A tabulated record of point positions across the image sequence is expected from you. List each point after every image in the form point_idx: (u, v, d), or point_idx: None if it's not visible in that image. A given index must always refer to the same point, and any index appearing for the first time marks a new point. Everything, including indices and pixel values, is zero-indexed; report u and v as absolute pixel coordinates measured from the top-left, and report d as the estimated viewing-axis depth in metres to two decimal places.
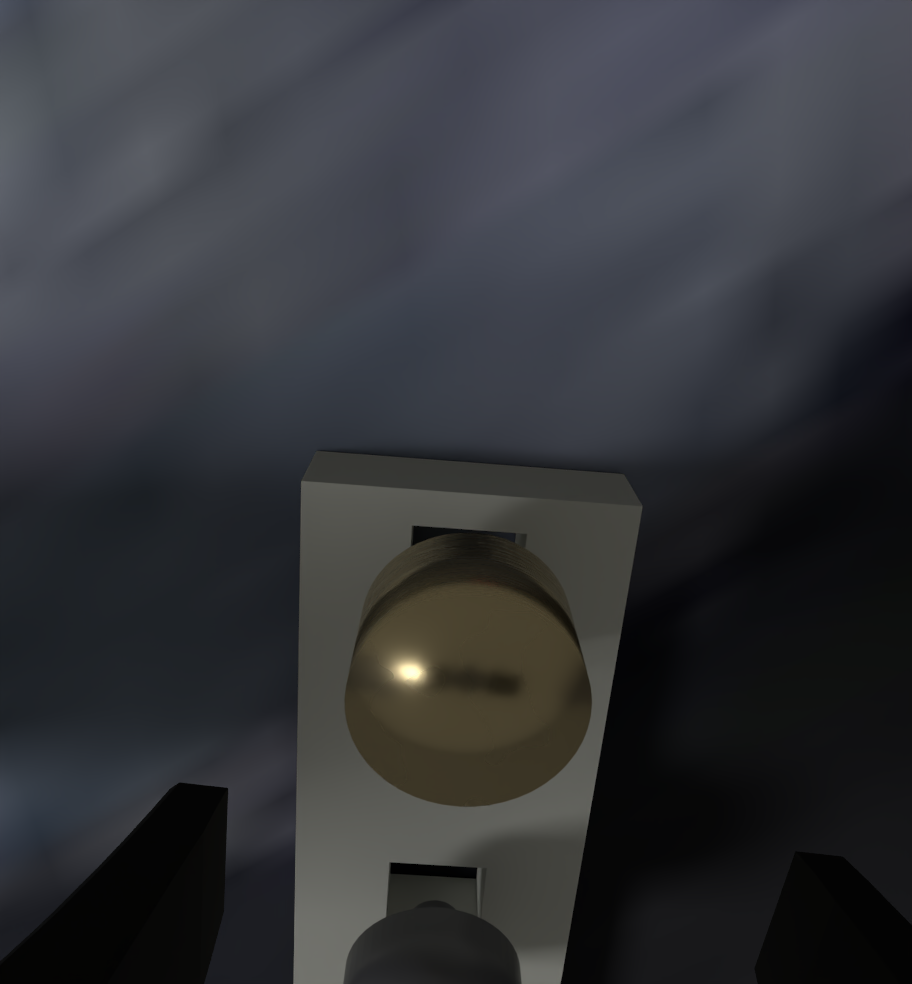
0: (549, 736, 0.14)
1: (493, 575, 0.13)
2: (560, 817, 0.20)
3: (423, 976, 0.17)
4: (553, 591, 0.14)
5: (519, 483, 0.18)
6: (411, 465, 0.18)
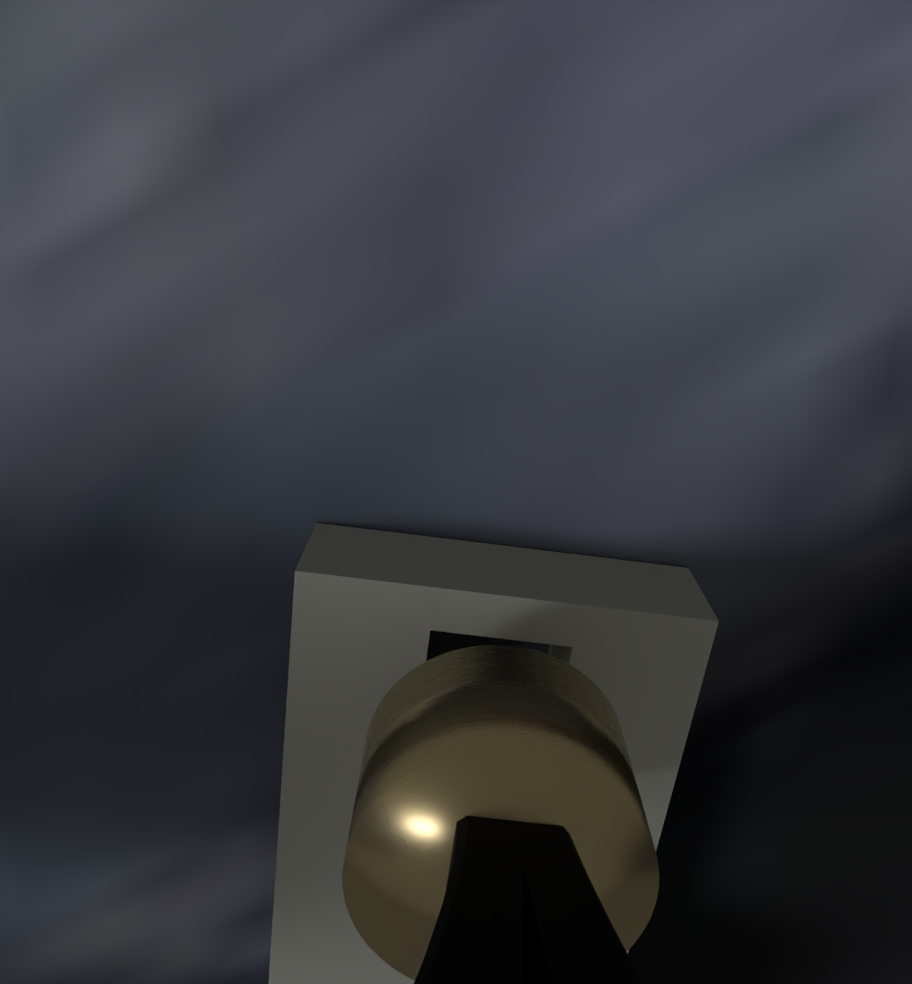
0: None
1: (540, 717, 0.11)
2: None
3: None
4: (610, 731, 0.11)
5: (564, 580, 0.14)
6: (430, 548, 0.15)
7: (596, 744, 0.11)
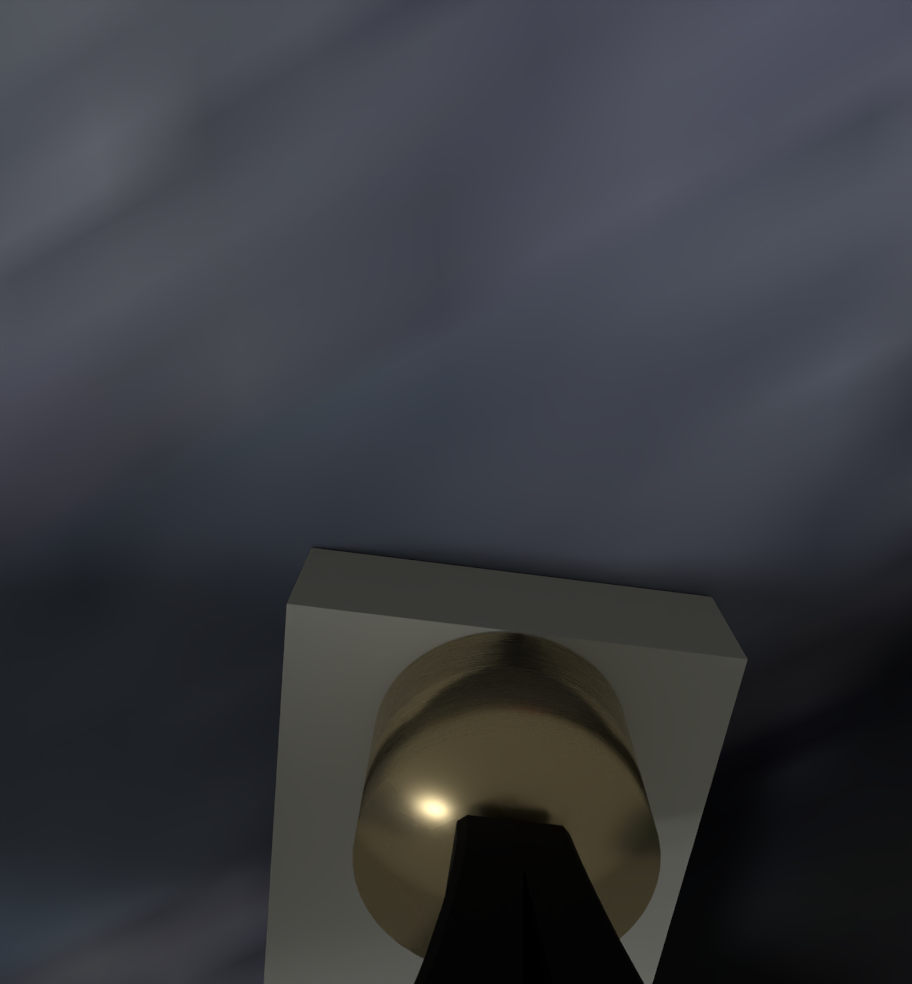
0: (603, 903, 0.11)
1: (545, 702, 0.11)
2: None
3: None
4: (613, 716, 0.12)
5: (579, 612, 0.13)
6: (435, 575, 0.14)
7: (599, 728, 0.11)
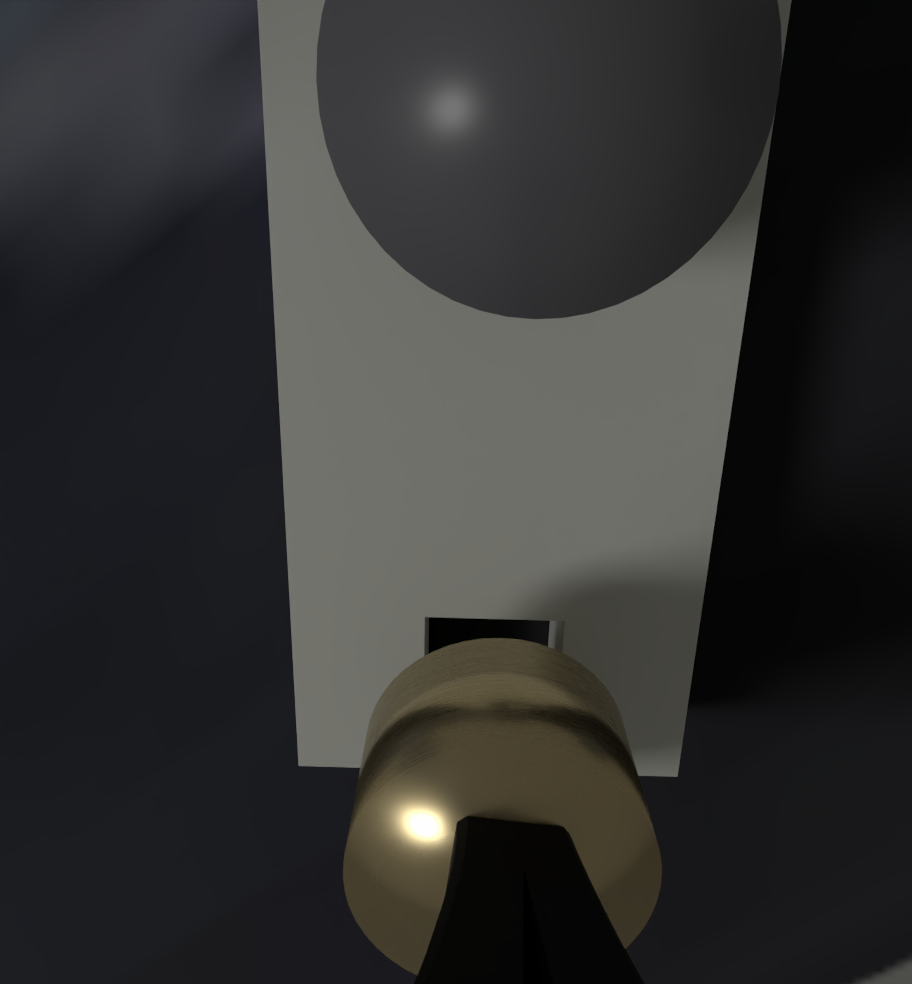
0: None
1: None
2: None
3: None
4: None
5: None
6: None
7: None
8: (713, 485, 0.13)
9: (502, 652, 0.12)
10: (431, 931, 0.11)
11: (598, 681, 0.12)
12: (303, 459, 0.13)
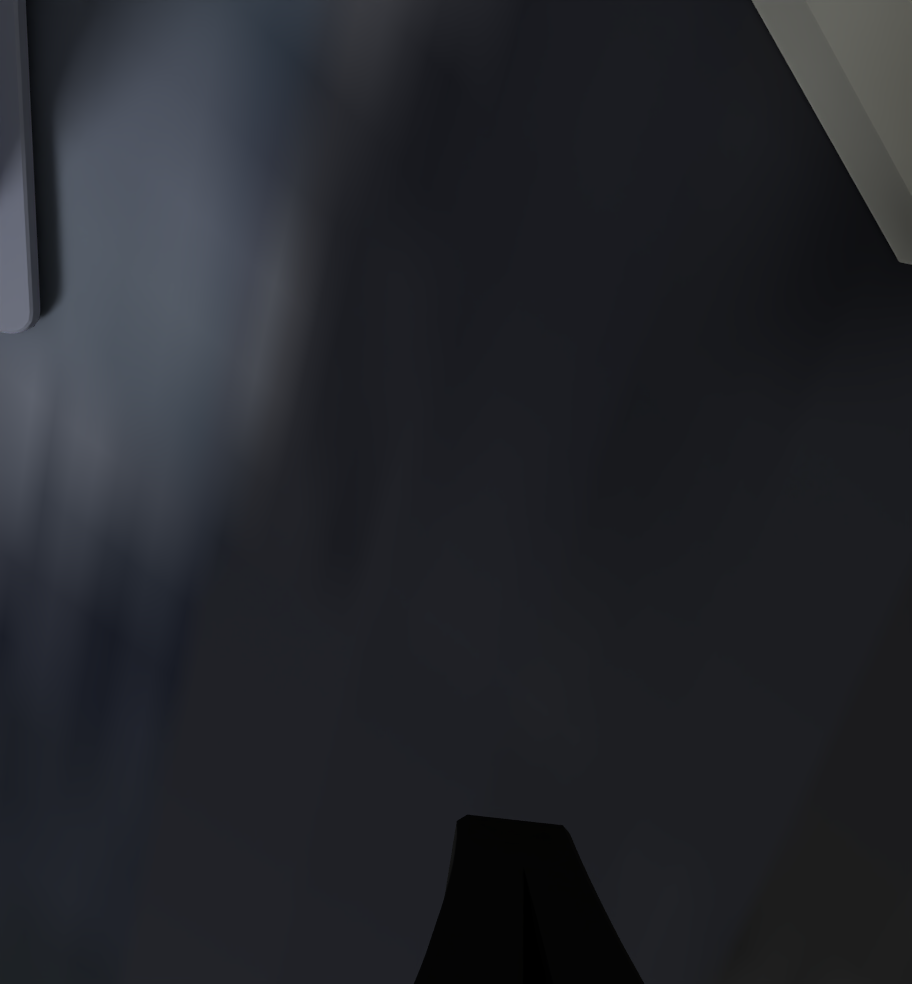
0: None
1: None
2: None
3: None
4: None
5: None
6: None
7: None
8: None
9: None
10: None
11: None
12: None
